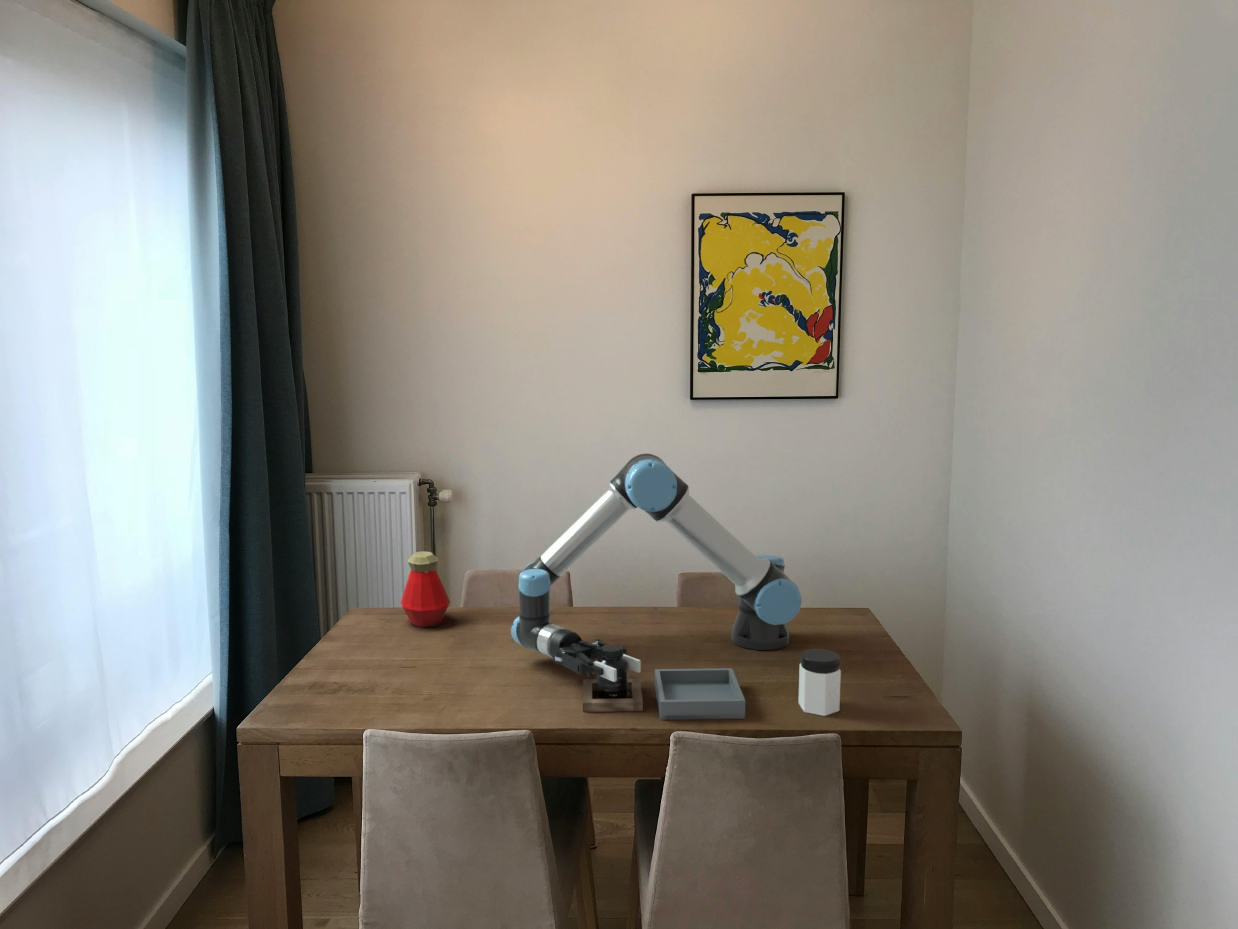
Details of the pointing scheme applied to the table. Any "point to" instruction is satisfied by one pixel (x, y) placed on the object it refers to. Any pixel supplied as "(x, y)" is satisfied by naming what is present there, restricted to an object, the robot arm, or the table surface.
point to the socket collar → (612, 704)
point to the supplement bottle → (619, 688)
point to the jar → (819, 682)
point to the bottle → (424, 592)
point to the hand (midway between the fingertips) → (627, 671)
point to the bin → (698, 694)
